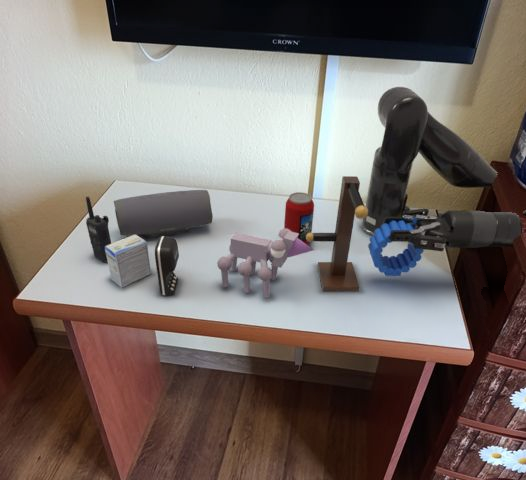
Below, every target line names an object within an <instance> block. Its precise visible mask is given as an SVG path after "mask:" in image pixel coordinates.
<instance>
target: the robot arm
mask: <svg viewBox="0 0 526 480" xmlns="http://www.w3.org/2000/svg"><path fill="white" fill-rule="evenodd" d="M377 116H378V119H379V122H380V124H381V126H383V128H384V132H383V138H382V142H381V145H380V146H379V147H377V149H376V150H375V151H374V155H373V161H372V166H371V172H370V176H369V177H370V178H369V185H368V190H367V194H366V201H365V206H366V207H367V209H368V215H367V217H366V218H364V219H362V222H361V229H362V230H363V232H365V233H366V234H368V235H370V236H373V235H374V231H375V230H376V229H378V228H380V229H381V225H382V224H384V223H387V224H388V225H389V223H390V222H391V221H396V222H397V223H398V222H399V221H404V222H405V224H407V223H409V224H411V225H412V227H413V229H414V230H411V231H409V230H392V231H391V232H390V237H389V239H390V241H392V242H391V243H394V242H395V243H396V242H401V243H402V242H404V243H405V242H406V243H408V244H409V243H410V244H414V245H413V247H414V248H417V249H423V250H426V251H434V252H435V251H436V252H444V249H445V248H446V249H447V248H450V249H451V248H453V249H454V248H456V249H459V248H463V249H465V248H467V249H469V248H470V249H471V248H473V249H474V248H483V247H485V248H486V247H494V248H495V247H496V248H497V247H499V248H500V247H503V248H512V249H514V248H513V247H514V246H513V240H514V239H515V238H517V237H518V236H520V235H521V234H522V223H521V219H520V217H519V215H517V214H516V213H512V212H485V211H480V210H447V211H445V212H444V213H443V215H441V216H436V215H430V214H429V212H430V210H429V209H428V208H418V209H411V208H410V207H408V206H407V202H408V197H409V195H408V194H407V191H408V185H409V181H410V176H411V173H412V168H413V164H414V161H415V159H416V158H417V156H418V155H421V157H422V158H423V159H424V160H425V162H426V163H427V164H428V165H429V166H430V167H431V168H432V169H433V170H434V172H436V174H437V175H439V176H440V177H441V178H442V179H443V180H445V182H447V183H448V184H449V185H450V186H453V187H455V188H460V189H474V188H483V189H484V188H485V189H491V188H492V184H493V182H494V180H495V178H496V177H497V175H498V174H497V173H498V171H496V170H495V169H494V168H493V167H492V165H490V163H488V162H487V161H486V159H485V158H484V157H483V156H482V155H481V154H480V153H479V152H478V151H477V150H476V149H475V148H474V147H473V146H471V145H470V144H469V143H468V142H467V141H466V140H464V138H462V136H460V135H458V133H456V132H454V131H453V130H452V129H450V128H449V127H447V126H446V125H444V124H443V123H441V122H440V121H439V120H437V119H436V118H435V117H434V116H433V115H432V114H431V113H430V112H429V111H428V105H427V103H426V102H425V101H424V99H423V98H422V97H421V96H420V95H418V94H417V93H416V92H415V91H413V90H412V89H411V88H409V87H405V86H394V87H391V88H389V89H387V90H386V91H385V92H383V93H382V95H381V96H380V98H379V101H378V103H377ZM523 215H525V216H526V210H525V211H523Z"/></svg>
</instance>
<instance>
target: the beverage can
mask: <svg viewBox="0 0 526 480" xmlns="http://www.w3.org/2000/svg"><path fill="white" fill-rule="evenodd" d="M314 212H315V203H314V200H313V196H311V194H310V193H306V192H301V191H299V192H293V193H291V194H289V196H288V198H287V200H286V201H285V211H284V226H283V229H289V230H291V232H295V233H299V235H298V237H297V238H298V239H300V240H301V241H302V242H304V243H305V244H306V245H308V246H309V244H310V243H311V242H308V241H307V240H306V235H307V233H309V232H312V233H313V231H312V230H313V222H314Z"/></svg>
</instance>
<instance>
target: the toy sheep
mask: <svg viewBox="0 0 526 480" xmlns="http://www.w3.org/2000/svg"><path fill="white" fill-rule="evenodd" d="M298 235H299V233H295V232H291V230H289V229H284V228H283V229H280V231H279V233H278V238H277V239H275V240H274V241H272V239H268V238H264V237H259V236H254V235H249V234H244V233H240V232H235V233H234V235H232V236H231V238H230V244H229V247H228V250H229V255H227V256H221V257H219V258H218V260H217V267H218V269H219V270H220V275H221V283H222V287H223V288H228V287H229V285H230V284H229V274H228V271H231V272H238V274H239V275H240V276H242V280H243V293H245V294H248V293H250V292H251V280H250V279H251V278H250V276H255V274H256V267H257V263H260V268H259V270H258V271H257V276H258V278H259V279H260V281H262V288H263V297H264V298H270V297H271V287H270V284H271V283H270V281H276V280H277V276H278V273H279V271H278V270H279V268H280V269H281V268H282V267H283V266H284V264H285V263H286V261H287V259H288V258H291V257H295V256H299V255H301V254H306V253H309V252H312V251H314V248H312V247H311V246H309V244H308V245H306V244H305V243H304V242H302V241H301V240H300V239H298V238H297V237H298ZM238 259H242V260H245V261H242V262H241V263H239V264H238ZM268 261H269V262H270V266H271V267H269V266H268ZM237 265H238V267H237Z"/></svg>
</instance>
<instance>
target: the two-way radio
mask: <svg viewBox="0 0 526 480" xmlns="http://www.w3.org/2000/svg"><path fill="white" fill-rule="evenodd" d="M85 202H86V207H87V213H88V217H87V218H86V221H85V222H86V228H87V232H88V236H89V240H90V245H91V248H92V252H93V256H94V257H95V258H96V259H98V260H99V261H101V262H103V263H108V261H107V256H106V252H105V246H107V245H110V244H112V239H111V235H110V230H109V221H110V220H109V216H107V215H103V216H102V217H101V216H100V215H99V214H96V215H95V214H94V210H93V206H92V202H91V199H90V196H85Z"/></svg>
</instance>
